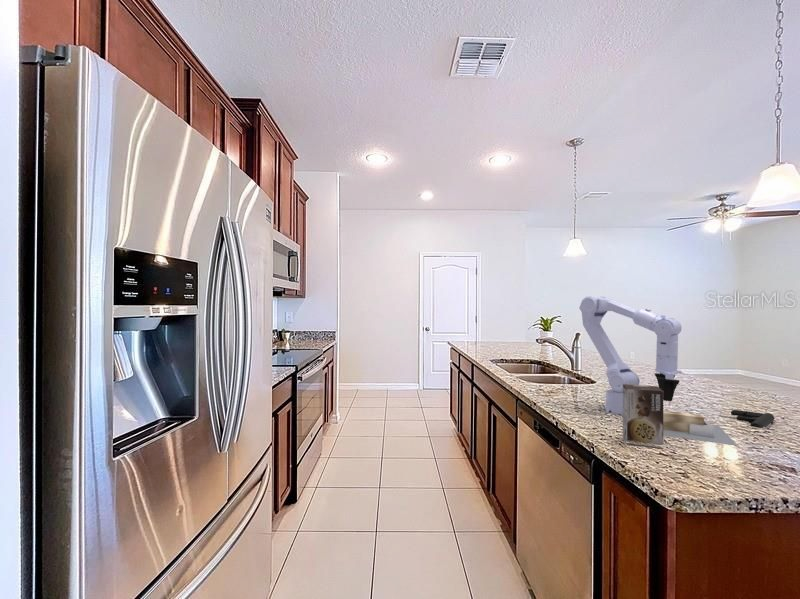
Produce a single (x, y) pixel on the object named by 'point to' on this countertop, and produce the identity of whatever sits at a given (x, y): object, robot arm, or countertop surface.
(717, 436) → the board
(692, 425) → the end cap
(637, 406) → the coffee box
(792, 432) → the countertop surface
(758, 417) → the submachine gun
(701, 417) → the slat
